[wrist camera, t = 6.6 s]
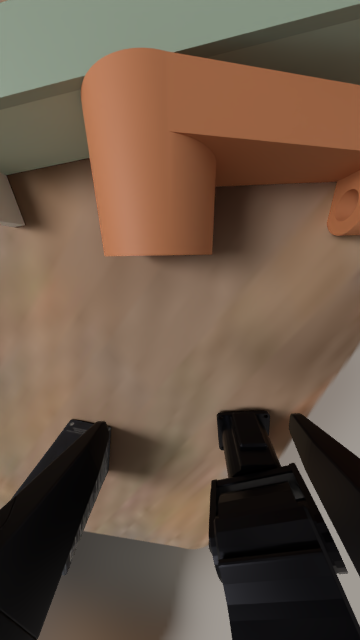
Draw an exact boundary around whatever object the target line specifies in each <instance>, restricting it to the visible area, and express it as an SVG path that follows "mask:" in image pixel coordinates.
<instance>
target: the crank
mask: <svg viewBox="0 0 360 640" xmlns="http://www.w3.org/2000/svg"><path fill="white" fill-rule="evenodd" d="M81 103H82V110H83V116H84V123H85V129H86V136H87V143H88V149H89V156H90V162H91V169H92V176H93V182H94V189H95V195H96V202H97V209H98V215H99V222H100V228H101V235H102V242H103V248H104V255H105V256H147V255H212V246H213V224H214V202H215V187H217V186H241V185H266V184H290V183H314V182H337V184H336V188H335V192H334V197H333V201H332V205H331V209H330V213H329V217H328V221H327V227H328V230H329V231H330V233H332V234H333V235H336V236H343V235H360V85H356V84H351V83H345V82H339V81H333V80H328V79H322V78H316V77H311V76H305V75H299V74H293V73H288V72H282V71H276V70H271V69H265V68H259V67H254V66H248V65H242V64H236V63H231V62H225V61H219V60H214V59H208V58H202V57H196V56H191V55H185V54H179V53H174V52H168V51H164V50H159V49H154V48H129V49H123V50H120V51H116V52H113V53H111V54H109V55H106V56H104V57H103V58H101V59H100V60H98V61H97V62H96V63H95V64H94V65H93V66H92V67H91V68H90V69H89V70H88V72H87V73H86V75H85V77H84V79H83V82H82V85H81Z"/></svg>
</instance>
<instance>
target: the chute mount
mask: <svg viewBox="0 0 360 640" xmlns="http://www.w3.org/2000/svg"><path fill="white" fill-rule="evenodd" d="M129 48H154V49H159V50H164V51H168V52H174V53H179V54H185V55H191V56H196V57H202V58H208V59H214V60H219V61H225V62H231V63H236V64H242V65H248V66H254V67H259V68H265V69H271V70H276V71H282V72H288V73H293V74H299V75H305V76H311V77H316V78H322V79H328V80H333V81H339V82H345V83H351V84H356V85H360V0H8V1H5V2H2V3H0V225H3V226H9V227H19V226H24V225H25V223H24V221H23V218H22V215H21V213H20V210H19V207H18V205H17V202H16V200H15V197H14V194H13V192H12V189H11V186H10V184H9V181H8V178H7V176H6V175H9V174H14V173H19V172H24V171H29V170H33V169H38V168H43V167H48V166H53V165H58V164H62V163H67V162H72V161H77V160H82V159H86V158H90V156H89V149H88V143H87V136H86V129H85V123H84V116H83V110H82V103H81V85H82V82H83V79H84V77H85V75H86V73H87V72H88V70H89V69H90V68H91V67H92V66H93V65H94V64H95V63H96V62H97V61H98V60H100V59H101V58H103V57H104V56H106V55H109V54H111V53H113V52H116V51H120V50H123V49H129Z"/></svg>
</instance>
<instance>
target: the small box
mask: <svg viewBox="0 0 360 640" xmlns="http://www.w3.org/2000/svg"><path fill="white" fill-rule="evenodd" d="M93 425H94V424H92V423H87V422H83V421H78V420H70V421H69V423H68V424H67V425H66V427H65V428H64V430H63V431H62V432H61V434H60V435H59V436H58V438H57V439H56V440H55V442H54V443H53V444H52V446H51V447H50V448H49V450H48V451H47V452H46V454H45V455H44V456H43V458H42V459H41V460H40V462H39V463H38V464H37V466H36V467H35V468H34V470H33V471H32V472H31V473H30V475H29V476H28V477H27V479H26V480H25V481H24V483H23V484H22V485H21V487H20V488H19V489H18V491H17V492H16V493H15V495H14V496H13V497H15V496H16V495H17V494H18V493H19V492H20V491H21V490H22V489H23V488H25V487H26V486H27V485H28V484H29V483H30V482H31V481H32V480H33V479H34V478H36V477H37V476H38V475H39V474H40V473H41V472H42V471H43V470H44V469H45V468H46V467H48V466H49V465H50V464H51V463H52V462H53V461H54V460H55V459H56V458H57V457H59V456H60V455H61V454H62V453H63V452H64V451H65V450H66V449H67V448H68V447H70V446H71V445H72V444H73V443H74V442H75V441H76V440H77V439H78V438H79V437H80V436H82V435H83V434H84V433H85V432H86V431H87V430H88V429H89V428H90V427H91V426H93ZM108 430H109V433H110V436H109V440H108V444H107V448H106V451H105V455H104V458H103V462H102V466H101V469H100V472H99V475H98V478H97V481H96V484H95V486H94V489H93V492H92V494H91V497H90V500H89V502H88V505H87V508H86V511H85V513H84V516H83V519H82V521H81V524H80V527H79V529H78V532H77V535H76V537H75V540H74V543H73V546H72V548H71V551H70V554H69V556H68V559H67V562H66V564H65V567H64V570H63V573H62V575H66V574H67V572H68V569H69V567H70V564H71V561H72V558H73V555H74V553H75V550H76V548H77V545H78V543H79V540H80V537H81V535H82V532H83V530H84V528H85V525H86V523H87V520H88V518H89V515H90V513H91V511H92V508H93V506H94V503H95V501H96V499H97V496H98V494H99V491H100V489H101V486H102V484H103V482H104V480H105V477H106V475H107V473H108V470H109V454H110V437H111V428H110V427H108ZM13 497H12V498H13Z"/></svg>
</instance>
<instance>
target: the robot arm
mask: <svg viewBox="0 0 360 640" xmlns="http://www.w3.org/2000/svg"><path fill="white" fill-rule="evenodd" d="M269 423H270V415H269V413H268V412H267V411H247V412H223V413H218V414H217V425H218V438H219V448H220V449H221V450H224V453H225V459H226V466H227V472H228V478H226V479H221V480H217V479H216V480H212V483H211V493H210V517H209V549H210V552H211V553H212V555H213V560H214V564H215V568H216V571H217V574H218V577H219V579H220V580H221V582H222V583H223V586H224V591H225V596H226V601H227V606H228V613H229V619H230V626H231V633H232V640H360V626H359V624H358V622H357V619H356V617H355V615H354V613H353V611H352V608H351V606H350V604H349V601H348V599H347V597H346V595H345V593H344V590H343V588H342V586H341V583H340V581H339V579H338V577H337V575H336V574H337V573H339V574H347V573H348V572H347V569H346V567H345V564H344V562H343V560H342V558H341V556H340V553H339V551H338V549H337V547H336V545H335V543H334V540H333V538H332V536H331V534H330V532H329V530H328V528H327V526H326V524H325V522H324V520H323V518H322V516H321V514H320V512H319V510H318V508H317V506H316V504H315V502H314V500H313V498H312V496H311V494H310V492H309V490H308V488H307V486H306V484H305V482H304V480H303V479H302V476H301V475H300V473H299V471H298V469H297V467H296V465H295V463H291V464H289V465H288V466H283V467H281V465H280V463H279V460H278V458H277V455H276V453H275V451H274V448H273V446H272V443H271V441H270V439H269ZM289 430H290V433H291V436H292V438H293V441H294V443H295V445H296V448H297V451H298V453H299V455H300V458H301V460H302V463H303V465H304V468H305V470H306V472H307V474H308V476H309V478H310V480H311V482H312V484H313V486H314V488H315V490H316V492H317V494H318V496H319V498H320V500H321V502H322V504H323V506H324V508H325V510H326V512H327V514H328V516H329V517H330V519H331V521H332V523H333V525H334V527H335V529H336V531H337V533H338V535H339V537H340V539H341V541H342V543H343V545H344V547H345V549H346V551H347V553H348V555H349V556H350V559H351V561H352V562H353V564H354V566H355V568H356V570H357V572H358V574H359V576H360V458H358V457H357V456H356V455H354V454H353V453H352V452H351V451H349V450H348V449H347V448H345V447H344V446H343V445H341V444H340V443H339V442H337V441H336V440H335V439H334V438H332V437H331V436H330V435H328V434H327V433H326V432H324V431H323V430H322V429H320V428H319V427H318V426H316V425H315V424H314V423H313V422H311V421H310V420H309V419H307V418H306V417H305V416H303V415H302V414H300V413H295V414H291V415H290V421H289ZM109 436H110V433H109V430H108V427H107V424H106V422H105V421H98V422H96V423H95V424H94V425H93V426H91V427H90V428H89V429H88V430H87V431H86V432H85V433H84V434H83V435H82V436H80V437H79V438H78V439H77V440H76V441H75V442H74V443H73V444H72V445H71V446H70V447H68V448H67V449H66V450H65V451H64V452H63V453H62V454H61V455H60V456H59V457H57V458H56V459H55V460H54V461H53V462H52V463H51V464H50V465H49V466H48V467H46V468H45V469H44V470H43V471H42V472H41V473H40V474H39V475H38V476H37V477H36V478H34V479H33V480H32V481H31V482H30V483H29V484H28V485H27V486H26V487H25V488H23V489H22V490H21V491H20V492H19V493H18V494H17V495H16V496H15V497H13V498H12V499H11V500H10V501H9V502H8V503H7V504H6V505H5V506H4V507H2V508H1V509H0V640H37V639H38V637H39V635H40V632H41V629H42V626H43V624H44V621H45V618H46V615H47V613H48V610H49V607H50V605H51V602H52V599H53V597H54V594H55V591H56V589H57V586H58V583H59V581H60V578H61V575H62V573H63V570H64V567H65V564H66V562H67V559H68V556H69V554H70V551H71V548H72V546H73V543H74V540H75V537H76V535H77V532H78V529H79V527H80V524H81V521H82V519H83V516H84V513H85V511H86V508H87V505H88V502H89V500H90V497H91V494H92V492H93V489H94V486H95V484H96V481H97V478H98V475H99V472H100V469H101V466H102V462H103V458H104V455H105V451H106V448H107V444H108V440H109Z"/></svg>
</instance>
